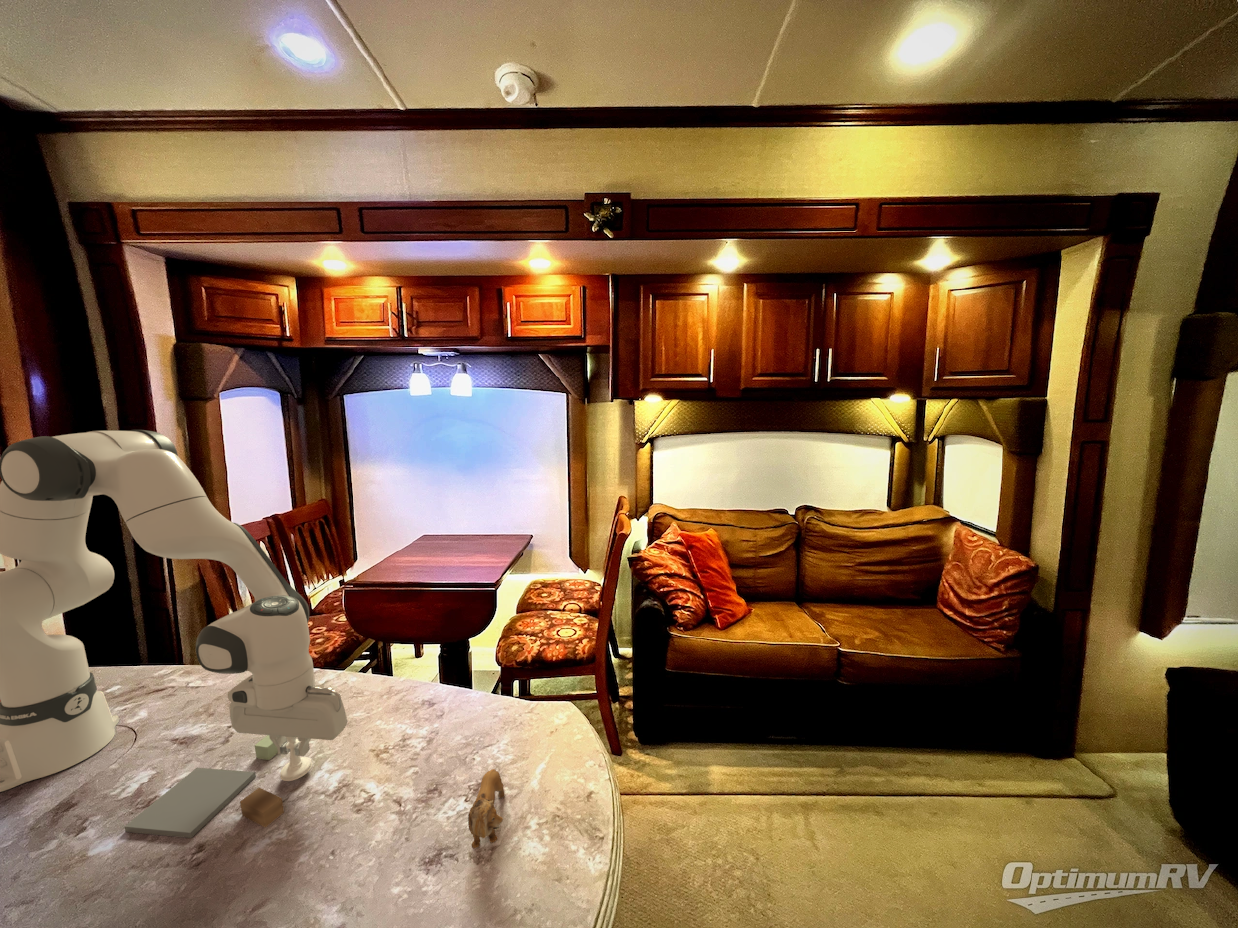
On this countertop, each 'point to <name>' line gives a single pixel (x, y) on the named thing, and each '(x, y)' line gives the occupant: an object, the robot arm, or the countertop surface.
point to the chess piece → (295, 763)
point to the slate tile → (191, 803)
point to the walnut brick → (262, 807)
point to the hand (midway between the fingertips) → (294, 752)
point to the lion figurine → (486, 809)
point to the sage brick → (265, 749)
